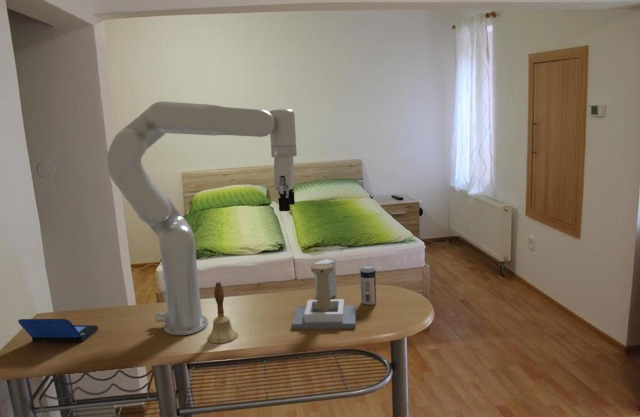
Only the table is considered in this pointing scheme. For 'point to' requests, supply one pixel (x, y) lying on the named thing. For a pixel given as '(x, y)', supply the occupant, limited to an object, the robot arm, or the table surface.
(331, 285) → the skincare box
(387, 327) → the table surface
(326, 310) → the handle
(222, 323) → the hand bell
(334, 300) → the socket board
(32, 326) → the handheld game console
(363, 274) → the beer can
